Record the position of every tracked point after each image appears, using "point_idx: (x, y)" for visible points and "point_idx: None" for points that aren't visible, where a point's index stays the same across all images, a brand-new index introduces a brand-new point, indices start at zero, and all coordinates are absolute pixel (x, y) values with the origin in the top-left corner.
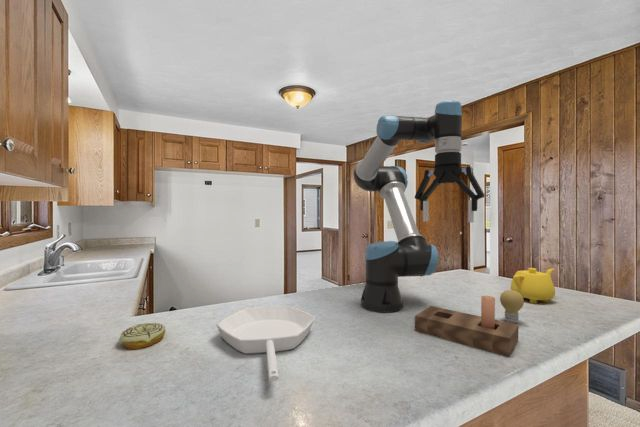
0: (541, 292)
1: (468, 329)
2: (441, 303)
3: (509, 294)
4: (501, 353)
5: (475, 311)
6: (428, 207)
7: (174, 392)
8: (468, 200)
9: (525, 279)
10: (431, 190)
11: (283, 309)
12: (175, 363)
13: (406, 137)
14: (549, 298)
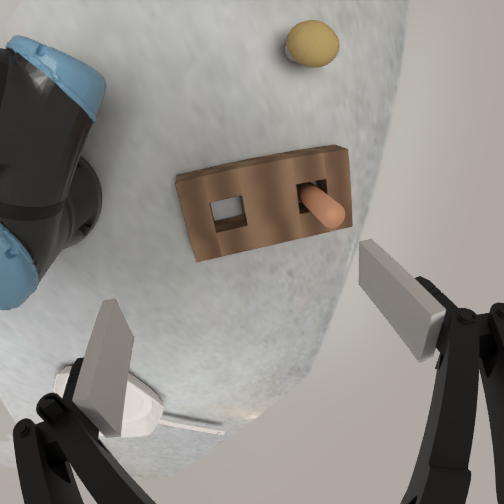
0: None
1: (294, 239)
2: (124, 52)
3: (320, 58)
4: None
5: (212, 39)
6: (100, 362)
7: (179, 449)
8: (419, 361)
9: None
10: (151, 500)
11: (60, 376)
12: (137, 445)
13: None
14: None
